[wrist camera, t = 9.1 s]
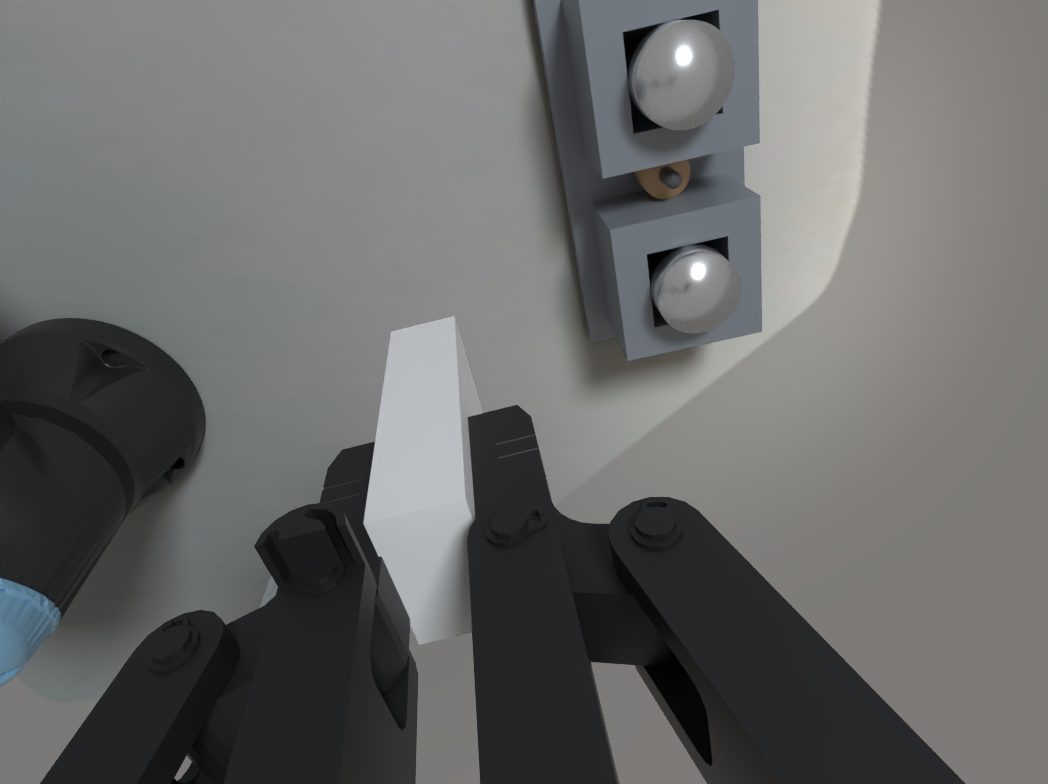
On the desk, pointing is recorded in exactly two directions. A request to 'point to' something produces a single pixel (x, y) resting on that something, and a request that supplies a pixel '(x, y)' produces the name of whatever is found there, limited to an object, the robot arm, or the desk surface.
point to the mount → (649, 166)
